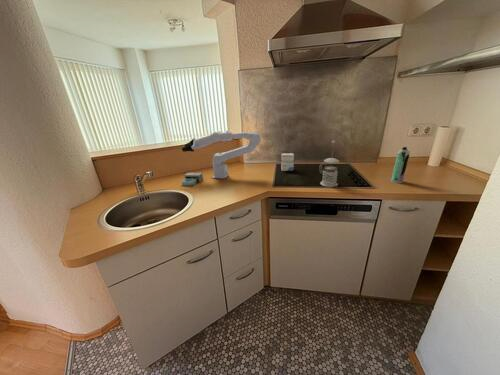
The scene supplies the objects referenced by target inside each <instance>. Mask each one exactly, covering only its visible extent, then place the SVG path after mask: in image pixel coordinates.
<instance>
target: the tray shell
mask: <svg viewBox="0 0 500 375" xmlns="http://www.w3.org/2000/svg"><path fill="white" fill-rule="evenodd" d="M197 181H198V180H196V179H185V178H184V179H183V180H182V181H181V185H182V186H186V187H187V186H188V187H193V186H194V185H196V184H197V183H198V182H197Z"/></svg>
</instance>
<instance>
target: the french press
mask: <svg viewBox="0 0 500 375" xmlns="http://www.w3.org/2000/svg"><path fill="white" fill-rule="evenodd" d="M331 143H332V146H334V144H336V140H332V141H331ZM333 153H334V150H332V152H331V155H333ZM338 163H340V160H339V159H337V158H333V157H328V158H325V159H324V160H323V162H321V163H320V165H319V167H320V170H319V173H322V178H321V179H322V180H321V181H320V183H319V184H320V185H321V186H324V187H330V188H332V187H333V188H335V187H338V185H339V184H338V183H337V181H338V180H337V179H338V167H336V166H334V164H338ZM326 164H331V165H328V166H324V167H323V165H326ZM332 164H333V165H332ZM323 168H324V169H323ZM334 186H335V187H334Z"/></svg>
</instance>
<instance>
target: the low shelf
mask: <svg viewBox="0 0 500 375" xmlns="http://www.w3.org/2000/svg"><path fill="white" fill-rule="evenodd" d="M185 179H196V180H197V181H198V183H200V182H202V181H203V180H204V176H203V173H202V172H187V173H186V174H184V180H185Z"/></svg>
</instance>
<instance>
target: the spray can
mask: <svg viewBox="0 0 500 375" xmlns="http://www.w3.org/2000/svg"><path fill="white" fill-rule="evenodd" d="M410 155H411V151H409V150H408V146H403V147H402V148H401V149H400V150H398V152H397V153H396V159H395V162H394V167H393V171H392V174H391V178H390V181H391V182H392V183H396V184H401V183H403V181H404V177H405V173H406V170H407V166H408V162H409V159H410Z"/></svg>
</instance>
